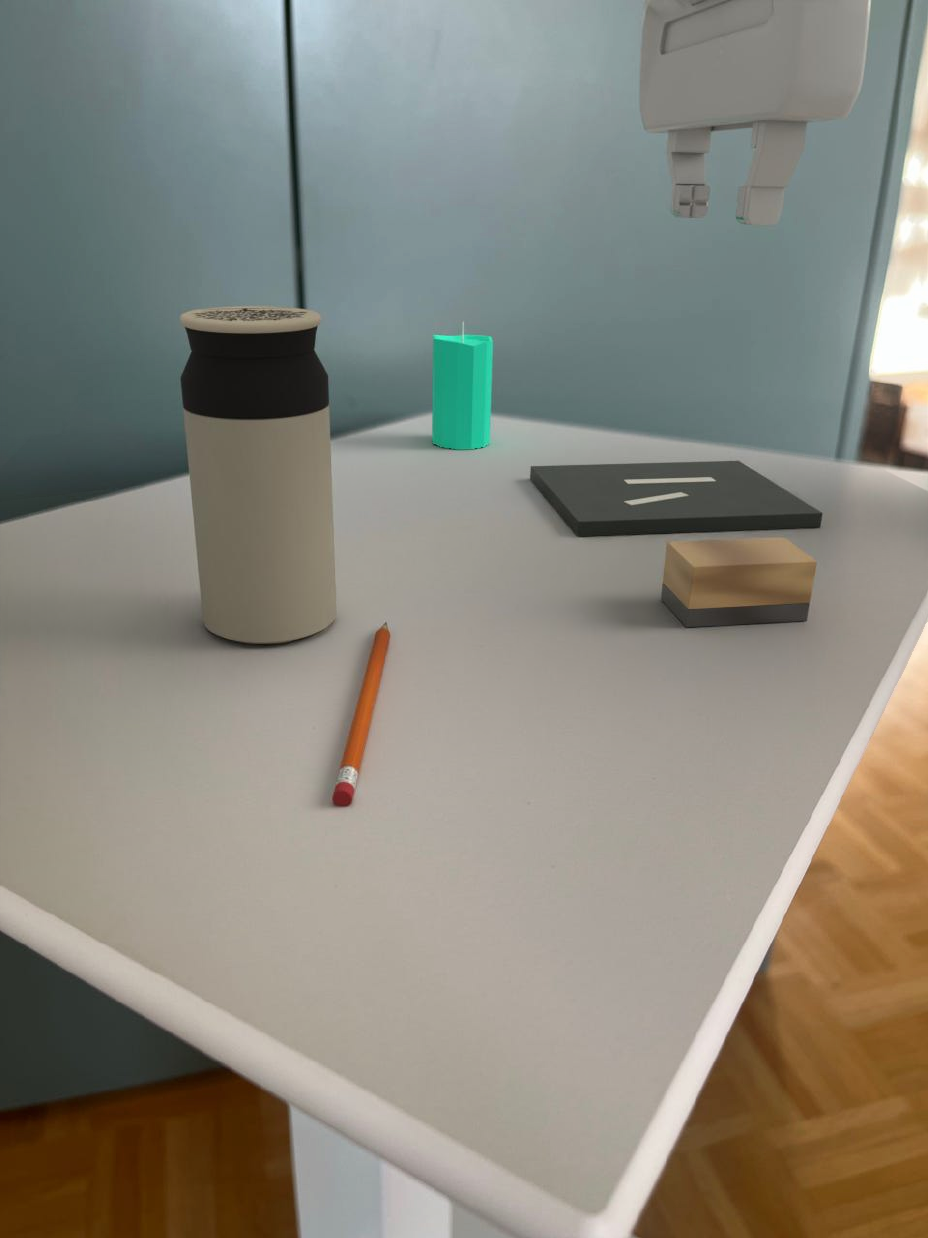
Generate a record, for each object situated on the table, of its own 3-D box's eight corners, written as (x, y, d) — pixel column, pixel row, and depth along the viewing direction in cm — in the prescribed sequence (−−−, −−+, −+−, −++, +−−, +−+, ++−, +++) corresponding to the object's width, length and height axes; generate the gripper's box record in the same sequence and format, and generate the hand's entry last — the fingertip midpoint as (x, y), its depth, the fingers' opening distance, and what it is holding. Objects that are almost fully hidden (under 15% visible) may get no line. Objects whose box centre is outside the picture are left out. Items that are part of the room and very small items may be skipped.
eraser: (774, 593, 67) (783, 536, 65) (807, 621, 63) (817, 561, 61) (660, 599, 65) (666, 541, 64) (685, 627, 61) (693, 566, 60)
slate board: (737, 472, 94) (738, 459, 94) (820, 527, 80) (823, 512, 79) (529, 478, 91) (530, 465, 90) (577, 536, 76) (578, 520, 76)
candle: (426, 447, 100) (427, 324, 96) (437, 433, 106) (438, 316, 101) (485, 451, 100) (489, 326, 95) (493, 437, 105) (497, 318, 100)
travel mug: (340, 644, 58) (329, 323, 51) (199, 651, 57) (166, 323, 49) (333, 592, 65) (323, 305, 58) (208, 598, 64) (181, 304, 57)
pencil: (332, 807, 43) (331, 790, 43) (379, 628, 61) (379, 614, 60) (352, 808, 43) (352, 791, 43) (393, 628, 61) (393, 615, 60)
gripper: (937, -135, 40) (874, 231, 46) (731, -39, 59) (704, 214, 64) (791, -146, 39) (745, 229, 45) (628, -45, 58) (609, 213, 63)
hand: (719, 221), depth 55 cm, fingers open, 8 cm apart
